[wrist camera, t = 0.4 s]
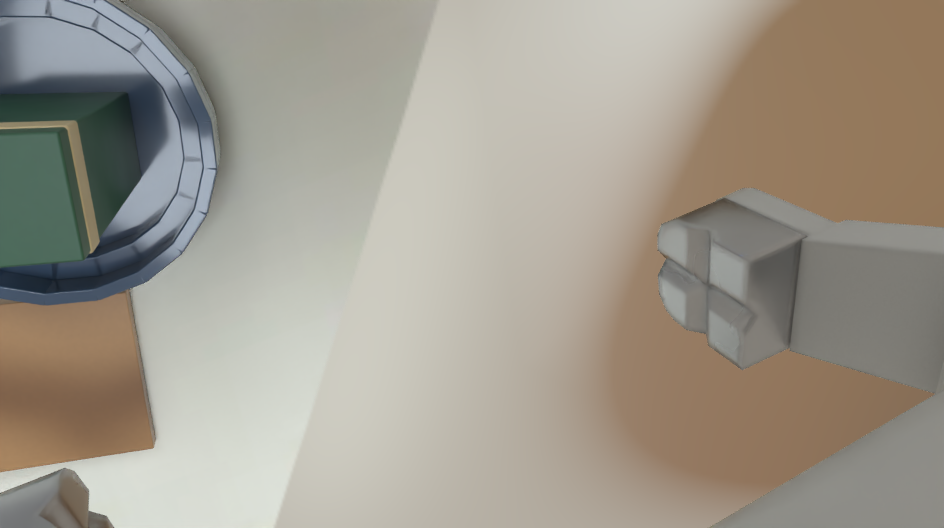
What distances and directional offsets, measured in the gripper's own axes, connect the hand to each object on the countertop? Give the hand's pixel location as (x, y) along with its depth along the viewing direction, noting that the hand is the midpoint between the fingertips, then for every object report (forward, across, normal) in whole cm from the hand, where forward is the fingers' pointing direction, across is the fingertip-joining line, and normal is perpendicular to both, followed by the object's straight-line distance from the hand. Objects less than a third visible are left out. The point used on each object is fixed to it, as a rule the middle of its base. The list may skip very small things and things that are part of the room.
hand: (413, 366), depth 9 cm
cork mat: (+27, +13, +13) cm, 33 cm away
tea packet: (+27, +7, +2) cm, 28 cm away
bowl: (+28, +7, +2) cm, 29 cm away
